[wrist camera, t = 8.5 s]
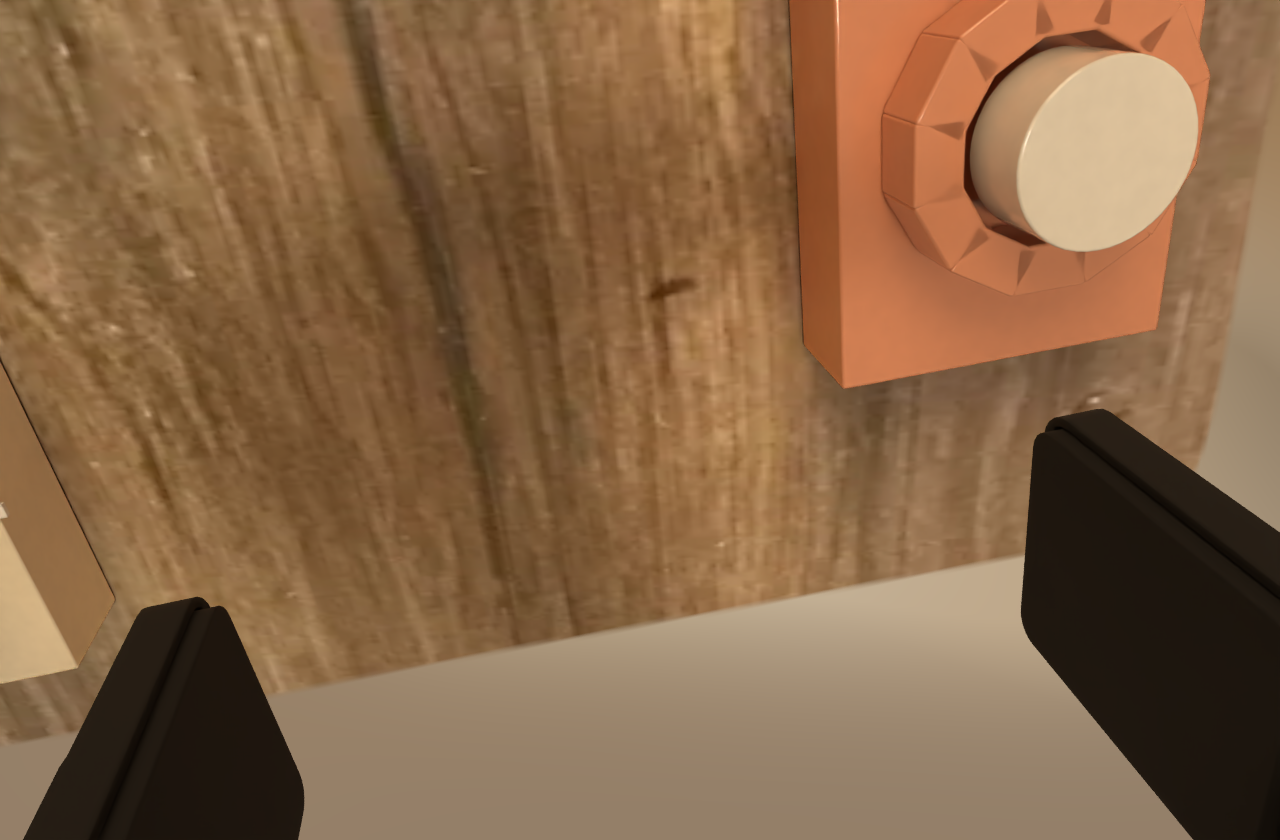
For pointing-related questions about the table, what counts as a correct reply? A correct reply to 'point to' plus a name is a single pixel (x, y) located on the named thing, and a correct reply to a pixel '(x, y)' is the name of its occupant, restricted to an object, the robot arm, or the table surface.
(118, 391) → the table surface
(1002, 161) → the button
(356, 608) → the table surface
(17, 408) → the panel
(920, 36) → the orange button base
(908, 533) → the table surface
